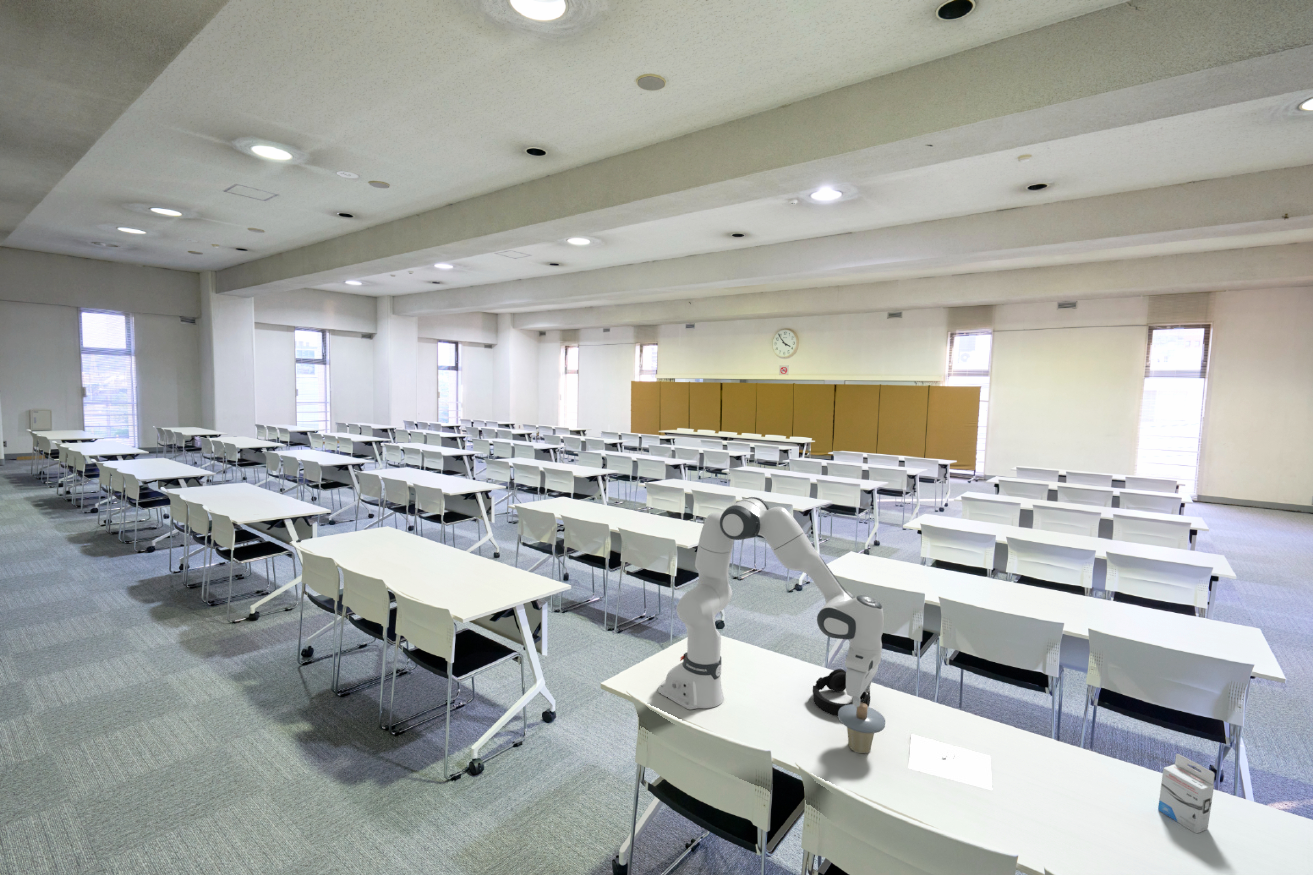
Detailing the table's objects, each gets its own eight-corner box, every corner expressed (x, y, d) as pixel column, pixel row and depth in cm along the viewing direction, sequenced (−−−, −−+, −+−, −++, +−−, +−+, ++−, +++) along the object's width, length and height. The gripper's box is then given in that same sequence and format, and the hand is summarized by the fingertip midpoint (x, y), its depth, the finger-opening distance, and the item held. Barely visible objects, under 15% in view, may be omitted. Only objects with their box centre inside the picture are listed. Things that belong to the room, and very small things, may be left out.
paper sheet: (1000, 761, 170) (1000, 758, 170) (993, 828, 146) (993, 824, 146) (912, 733, 183) (912, 730, 183) (892, 790, 159) (892, 787, 159)
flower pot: (879, 759, 170) (880, 731, 169) (844, 754, 172) (846, 726, 171) (873, 740, 179) (875, 712, 178) (841, 735, 181) (842, 708, 180)
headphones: (880, 677, 200) (855, 707, 185) (880, 698, 202) (855, 730, 187) (830, 660, 212) (803, 687, 197) (830, 680, 213) (803, 708, 199)
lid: (832, 722, 172) (832, 707, 172) (845, 702, 183) (846, 688, 183) (878, 738, 165) (879, 723, 165) (890, 717, 176) (890, 702, 175)
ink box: (1156, 809, 152) (1163, 755, 150) (1168, 805, 154) (1175, 751, 152) (1196, 834, 144) (1203, 777, 142) (1209, 829, 146) (1216, 772, 144)
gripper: (864, 637, 182) (860, 679, 184) (842, 663, 166) (839, 709, 167) (885, 643, 179) (881, 686, 180) (866, 670, 162) (862, 717, 164)
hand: (861, 698), depth 174 cm, fingers open, 8 cm apart
